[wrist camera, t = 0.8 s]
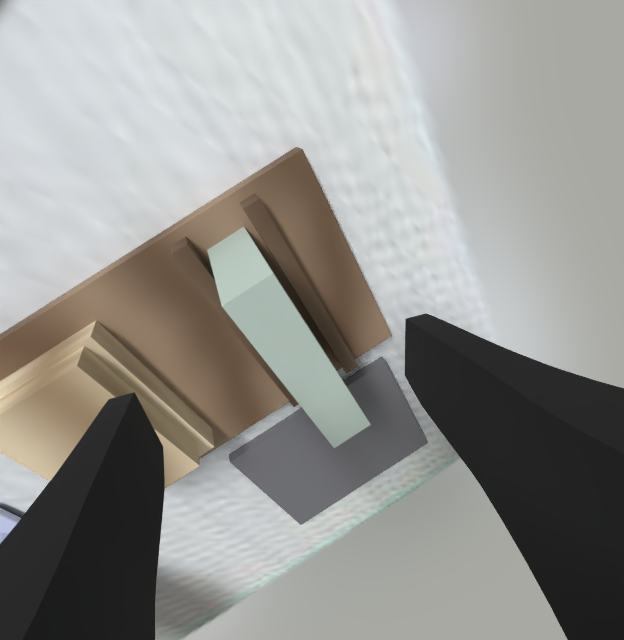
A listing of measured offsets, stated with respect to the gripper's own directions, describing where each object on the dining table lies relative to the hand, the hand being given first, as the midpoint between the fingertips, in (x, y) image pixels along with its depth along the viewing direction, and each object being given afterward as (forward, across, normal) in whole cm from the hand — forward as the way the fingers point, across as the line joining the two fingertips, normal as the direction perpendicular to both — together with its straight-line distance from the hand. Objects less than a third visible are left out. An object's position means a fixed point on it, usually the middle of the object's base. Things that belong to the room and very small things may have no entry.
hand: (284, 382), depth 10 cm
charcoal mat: (+10, -3, +16) cm, 20 cm away
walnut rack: (+10, +3, +5) cm, 12 cm away
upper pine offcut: (+8, +8, +6) cm, 13 cm away
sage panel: (+10, -1, +3) cm, 10 cm away
